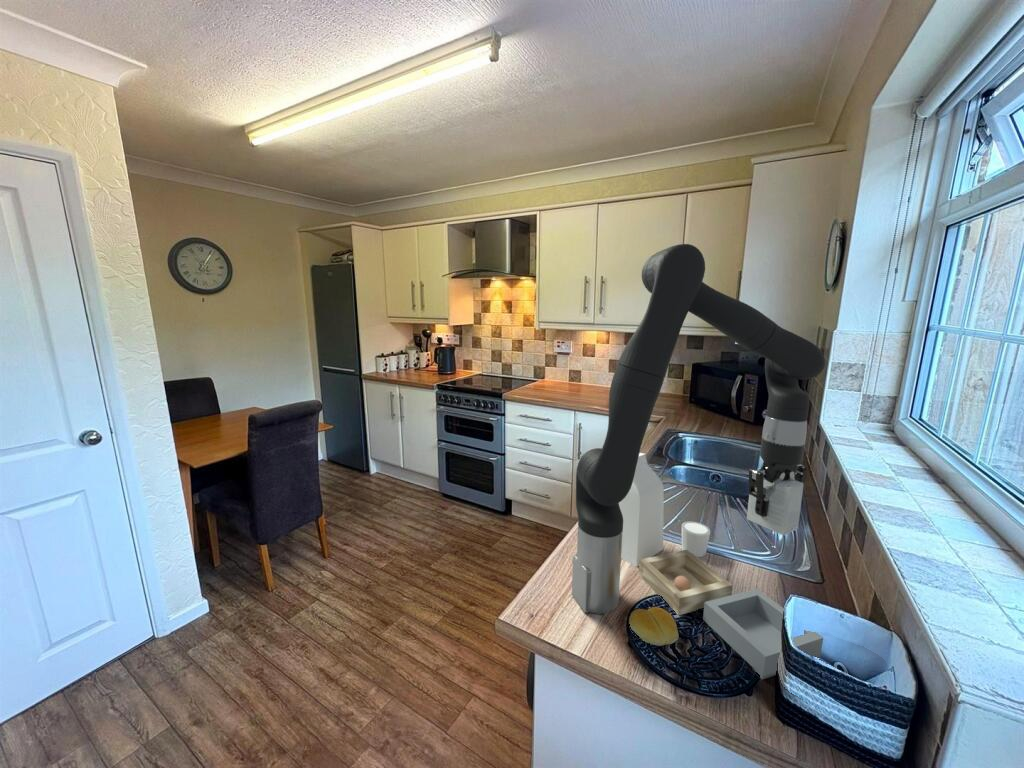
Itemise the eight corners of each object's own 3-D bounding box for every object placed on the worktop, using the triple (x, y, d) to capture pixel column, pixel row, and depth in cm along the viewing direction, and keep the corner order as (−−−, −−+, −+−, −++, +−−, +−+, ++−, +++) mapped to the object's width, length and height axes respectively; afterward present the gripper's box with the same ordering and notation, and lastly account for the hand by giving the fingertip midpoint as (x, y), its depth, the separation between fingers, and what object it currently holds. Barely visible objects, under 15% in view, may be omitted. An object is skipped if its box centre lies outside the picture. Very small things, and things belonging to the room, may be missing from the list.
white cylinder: (683, 542, 110) (686, 518, 108) (711, 551, 105) (713, 526, 104) (675, 553, 104) (677, 528, 103) (704, 563, 100) (706, 538, 99)
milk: (636, 569, 98) (642, 468, 93) (598, 547, 107) (603, 454, 102) (662, 551, 105) (670, 456, 101) (625, 532, 114) (631, 445, 110)
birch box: (677, 617, 82) (679, 598, 81) (638, 576, 95) (639, 559, 94) (730, 603, 86) (732, 585, 85) (685, 566, 99) (686, 549, 98)
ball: (680, 597, 87) (681, 583, 87) (670, 587, 90) (671, 574, 90) (693, 594, 88) (694, 580, 88) (682, 584, 91) (683, 571, 91)
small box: (798, 529, 85) (805, 483, 83) (784, 536, 82) (791, 488, 81) (759, 513, 92) (765, 470, 90) (745, 519, 89) (751, 474, 87)
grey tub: (762, 679, 68) (765, 656, 68) (702, 621, 81) (704, 602, 80) (819, 659, 72) (823, 637, 72) (754, 607, 85) (756, 588, 84)
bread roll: (622, 618, 82) (623, 601, 81) (663, 614, 83) (665, 597, 83) (640, 652, 74) (641, 632, 73) (685, 647, 75) (687, 628, 75)
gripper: (773, 447, 78) (763, 526, 81) (826, 441, 82) (814, 516, 85) (741, 436, 85) (732, 509, 88) (791, 431, 90) (781, 501, 92)
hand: (772, 512), depth 87 cm, fingers closed on small box, 6 cm apart
